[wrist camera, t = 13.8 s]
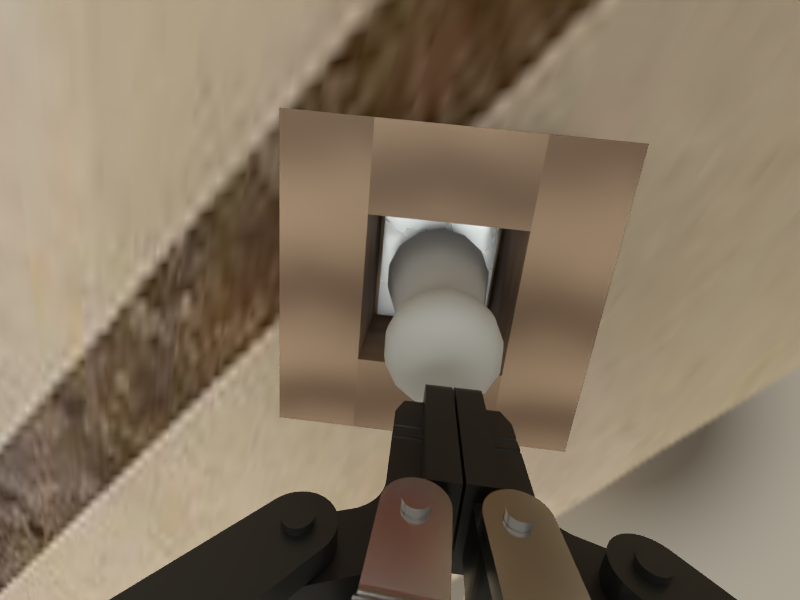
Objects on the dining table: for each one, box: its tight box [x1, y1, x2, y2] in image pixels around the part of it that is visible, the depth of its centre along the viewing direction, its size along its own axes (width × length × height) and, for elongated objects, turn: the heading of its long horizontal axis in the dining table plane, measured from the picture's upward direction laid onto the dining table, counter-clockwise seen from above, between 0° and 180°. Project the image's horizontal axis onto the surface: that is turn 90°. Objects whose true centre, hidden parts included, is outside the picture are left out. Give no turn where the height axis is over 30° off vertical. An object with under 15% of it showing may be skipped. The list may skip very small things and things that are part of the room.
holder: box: [280, 108, 649, 452], centre depth 24 cm, size 16×16×8 cm
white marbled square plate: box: [377, 216, 500, 316], centre depth 27 cm, size 7×7×1 cm
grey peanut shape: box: [384, 228, 503, 402], centre depth 20 cm, size 6×6×13 cm
